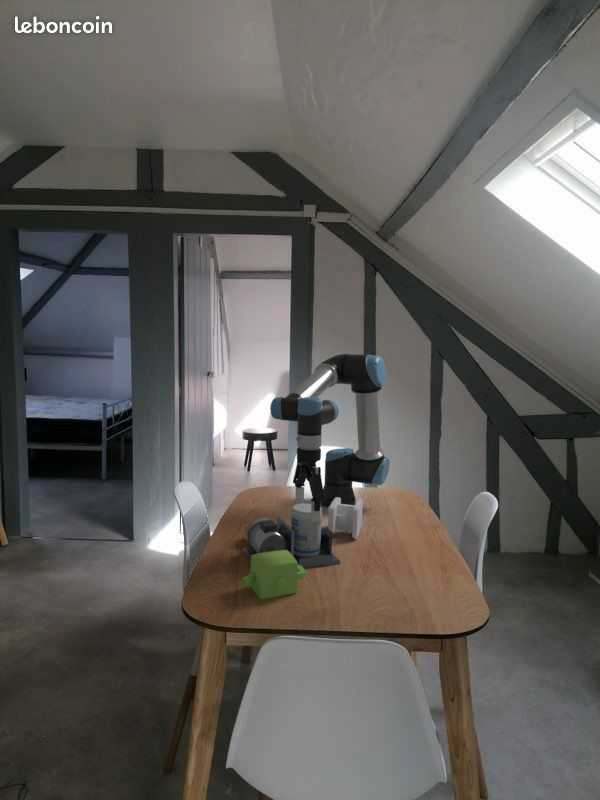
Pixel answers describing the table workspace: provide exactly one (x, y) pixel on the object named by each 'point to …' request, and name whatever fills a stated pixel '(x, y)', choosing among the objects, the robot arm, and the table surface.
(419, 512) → the table surface
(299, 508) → the supplement tub
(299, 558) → the motor clip
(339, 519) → the cable organizer
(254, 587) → the gearbox
